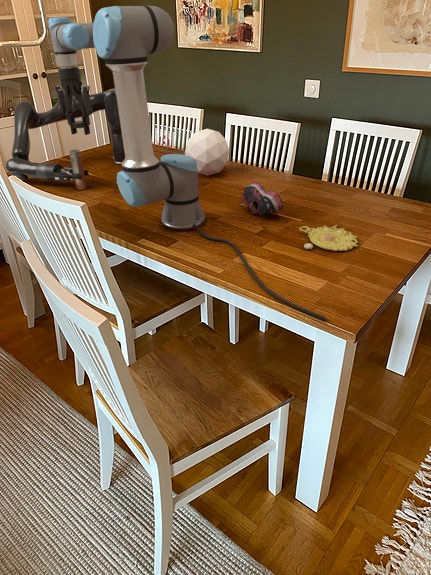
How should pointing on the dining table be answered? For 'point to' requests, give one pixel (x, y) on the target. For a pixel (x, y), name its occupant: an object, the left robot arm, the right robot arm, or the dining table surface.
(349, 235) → the decorative object
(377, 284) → the dining table surface
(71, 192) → the dining table surface
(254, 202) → the athletic shoe
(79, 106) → the right robot arm
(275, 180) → the dining table surface
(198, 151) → the sphere
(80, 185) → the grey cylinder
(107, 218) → the dining table surface
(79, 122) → the lid
